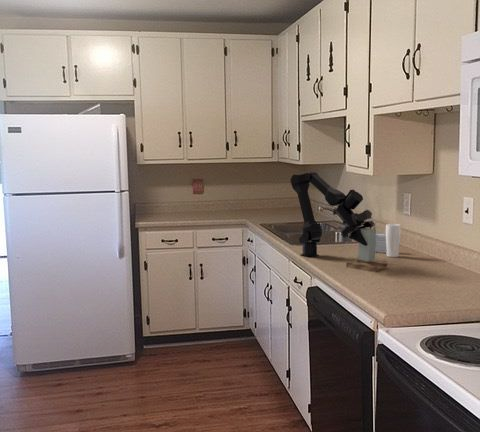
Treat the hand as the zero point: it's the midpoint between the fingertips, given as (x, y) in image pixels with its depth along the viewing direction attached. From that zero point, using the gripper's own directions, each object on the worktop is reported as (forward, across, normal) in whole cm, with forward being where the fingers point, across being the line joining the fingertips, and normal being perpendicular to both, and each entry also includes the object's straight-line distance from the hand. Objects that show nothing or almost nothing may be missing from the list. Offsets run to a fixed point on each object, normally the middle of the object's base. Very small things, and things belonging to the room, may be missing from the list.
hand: (370, 244), depth 230 cm
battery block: (+4, 0, +6) cm, 7 cm away
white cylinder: (+4, +28, +10) cm, 30 cm away
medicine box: (-2, +34, +17) cm, 38 cm away
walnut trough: (+6, 0, +8) cm, 10 cm away
